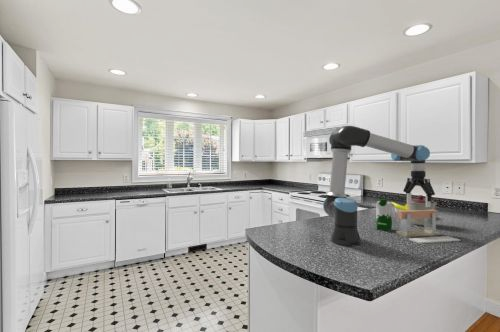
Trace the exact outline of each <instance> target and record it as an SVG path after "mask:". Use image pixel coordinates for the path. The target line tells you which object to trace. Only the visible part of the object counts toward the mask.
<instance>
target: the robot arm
mask: <svg viewBox="0 0 500 332" xmlns="http://www.w3.org/2000/svg"><path fill="white" fill-rule="evenodd" d="M328 141H329V142H328V143H329V144H330V151H331V152H332V159H331V160H332V162H331V170H330V171H331V172H330V180H329V181H330V185H329V192H327V193H326V197H325V200H324V201H323V203H322V204H323V205H322V207H323V211H324V212H325V214H326V215H327V216H329V217H332V218H333V219H334V220H333V221H334V225H333V226H334V227H333V229H332V233H331V236H330V241H331V242H332V243H334V244H336V245H340V246H346V247H348V246H349V247H352V246H353V247H354V246H359V245H361V237H360V234H359V231H358V208H359V207H358V203H357V201H356V200H355V199H353V198H348V196H347V194H345V193H346V180H347V169H348V157H349V153H350V152H352V147H353V146H354V147H356V146H357V147H362V148H364V147H367V148H371V149H375V150H378V151H382V152H386V153H389V154H390V158H391V160H392V161H395V162H409V161H410V170H411V171H410V177H407V180H406V184H405V186H404V188H403V191H402V192H404V193H405V195H406V196H405V197H406V201H407V202H406V204H411V199H412V191H413V189H414V188H415V187H417V186H418V187H420V188H422V190H423V191H424V193H425V194H426V195H425V199H426V207H431V201H432V199H433V198H432V196H435V195H436V193H435V191H434V188H433V186H432V184H431V180H430V178H425V177H426V172H427V171H426V160H427V159H429V157H430V155H431V151H430V149H429V147H427V146H425V145H422V144H416V145H413V144H409V143H406V142H403V141H399V140H396V139H393V138H388V137H386V136H382V135H378V134H375V133H372V132H371V130H369V129H365V128H361V127H358V126H353V125H345V126H343V127H338V128H336V129H335V130H333V131H331V133H330V135H329V138H328Z"/></svg>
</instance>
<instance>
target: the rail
mask: <svg viewBox="0 0 500 332" xmlns="http://www.w3.org/2000/svg"><path fill="white" fill-rule="evenodd" d="M431 213H436V218H437V219H438V216H439V215H438V210H437V209H435V210H408V211H398V213H397V219H399V220H400V219H406V214H411V219H419V218H431Z"/></svg>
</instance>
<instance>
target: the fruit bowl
mask: <svg viewBox="0 0 500 332" xmlns="http://www.w3.org/2000/svg"><path fill="white" fill-rule="evenodd" d="M391 202H392V206H394V210H395V213H396V214H398V211H408V204H407V203H406V204H405V205H401V204H399V203H396V202H393V201H391Z"/></svg>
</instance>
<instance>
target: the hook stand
mask: <svg viewBox="0 0 500 332" xmlns="http://www.w3.org/2000/svg"><path fill="white" fill-rule="evenodd" d="M436 221H437V219H436V213H431V218H424V226H423V227H424V228H423V229H412V227H411V226H412V223H411V214H406V219H399V230H396V231H395V234H396V235H399V236H403V237H406V238H412V237H413V238H416V237H433V236H440V235H441V232H439V231H436V230H437V228H436V227H437V226H436V225H437V223H436Z"/></svg>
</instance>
